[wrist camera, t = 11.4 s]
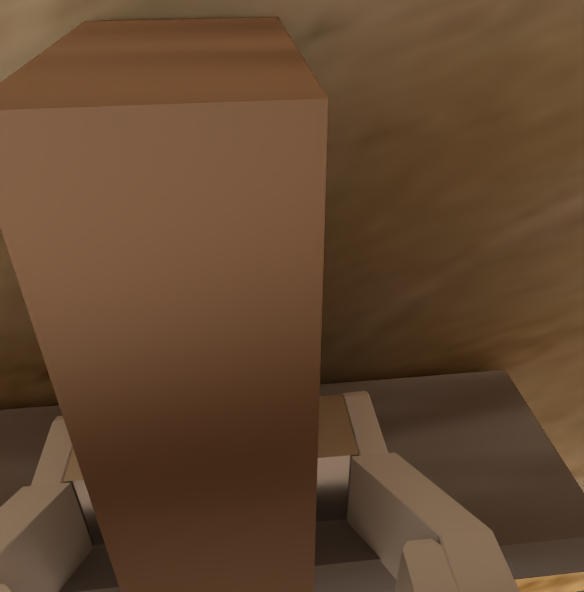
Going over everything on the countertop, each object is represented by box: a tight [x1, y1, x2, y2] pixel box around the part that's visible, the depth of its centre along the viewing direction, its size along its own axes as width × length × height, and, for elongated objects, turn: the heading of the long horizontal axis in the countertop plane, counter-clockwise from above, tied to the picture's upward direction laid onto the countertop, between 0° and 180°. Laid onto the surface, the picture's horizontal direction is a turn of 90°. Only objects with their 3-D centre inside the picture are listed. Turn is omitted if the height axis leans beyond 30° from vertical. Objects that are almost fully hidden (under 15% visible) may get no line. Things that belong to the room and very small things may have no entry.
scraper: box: [0, 17, 584, 592], centre depth 9 cm, size 9×14×5 cm, turn 91°
